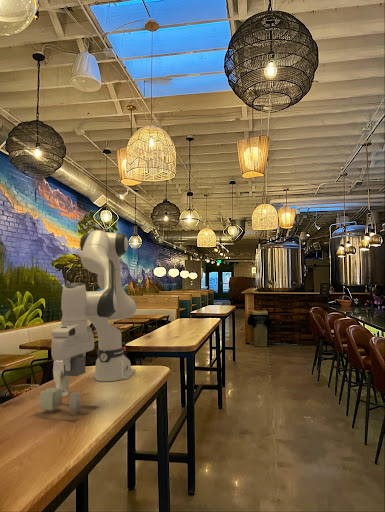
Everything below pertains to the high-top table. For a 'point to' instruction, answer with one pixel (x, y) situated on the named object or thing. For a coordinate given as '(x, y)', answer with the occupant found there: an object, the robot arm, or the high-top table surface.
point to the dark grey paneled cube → (76, 366)
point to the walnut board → (64, 413)
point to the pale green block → (51, 399)
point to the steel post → (74, 403)
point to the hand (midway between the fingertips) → (74, 368)
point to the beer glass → (61, 377)
